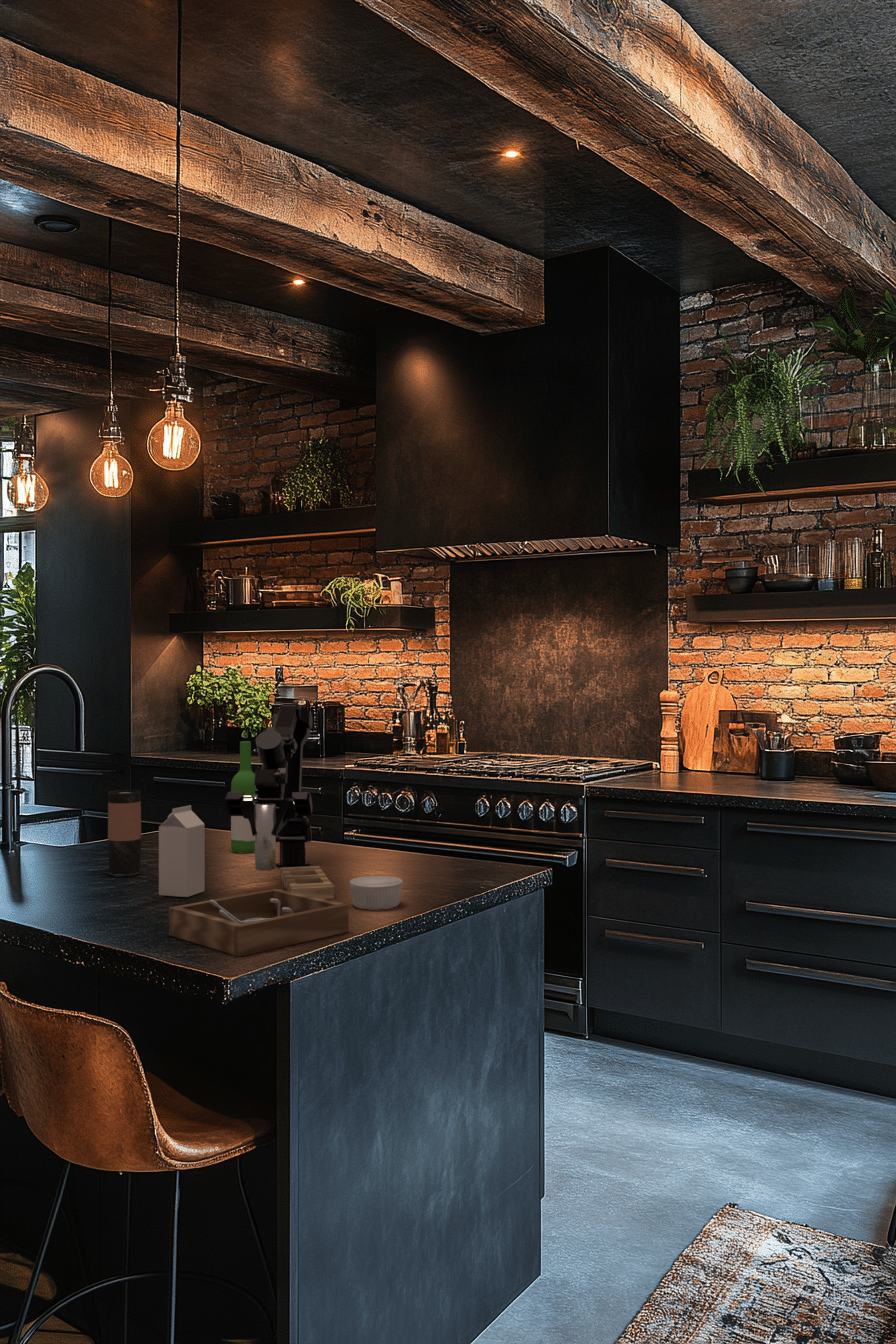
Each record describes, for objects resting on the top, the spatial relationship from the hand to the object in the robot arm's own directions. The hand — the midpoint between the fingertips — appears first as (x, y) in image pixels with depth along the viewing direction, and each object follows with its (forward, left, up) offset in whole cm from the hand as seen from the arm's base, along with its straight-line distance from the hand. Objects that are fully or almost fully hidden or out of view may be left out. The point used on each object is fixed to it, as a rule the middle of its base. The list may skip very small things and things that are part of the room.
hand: (264, 834), depth 228 cm
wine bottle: (-52, +32, -13) cm, 63 cm away
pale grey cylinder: (-1, +1, -8) cm, 8 cm away
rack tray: (+27, -21, -13) cm, 36 cm away
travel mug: (-45, -8, -13) cm, 48 cm away
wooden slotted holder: (-1, +12, -13) cm, 18 cm away
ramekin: (+25, +10, -14) cm, 30 cm away
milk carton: (-15, -11, -13) cm, 23 cm away
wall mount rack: (+24, -21, -14) cm, 35 cm away
